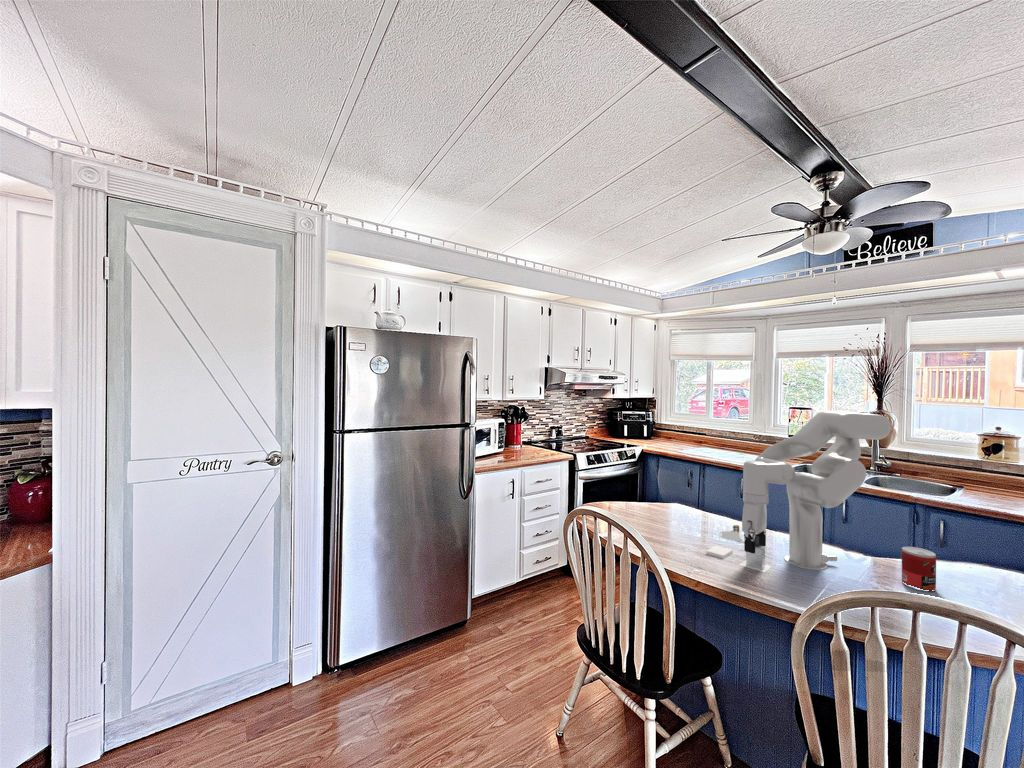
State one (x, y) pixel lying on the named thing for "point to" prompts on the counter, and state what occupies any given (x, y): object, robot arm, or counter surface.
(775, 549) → the counter surface
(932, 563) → the canned food
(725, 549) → the tile
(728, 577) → the counter surface
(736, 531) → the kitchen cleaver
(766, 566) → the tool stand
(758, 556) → the steel turner
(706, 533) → the counter surface
